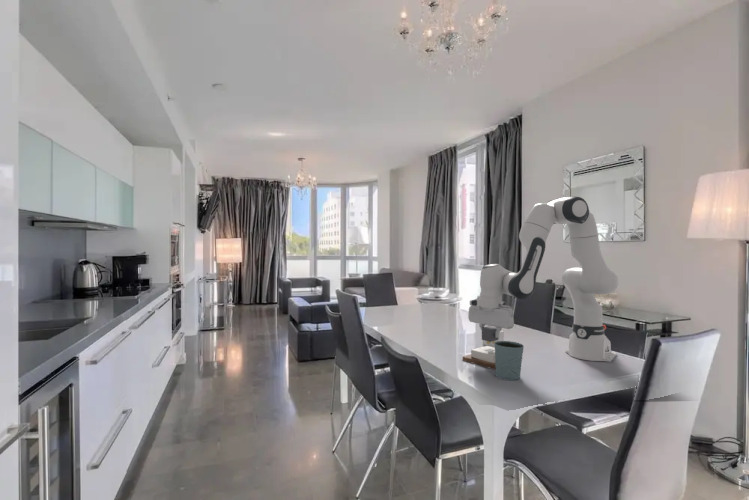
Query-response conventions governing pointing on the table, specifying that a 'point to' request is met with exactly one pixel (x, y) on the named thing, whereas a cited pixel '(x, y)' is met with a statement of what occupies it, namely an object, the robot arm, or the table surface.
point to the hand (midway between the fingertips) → (490, 335)
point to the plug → (489, 334)
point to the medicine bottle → (500, 338)
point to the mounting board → (479, 361)
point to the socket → (484, 354)
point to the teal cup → (508, 359)
